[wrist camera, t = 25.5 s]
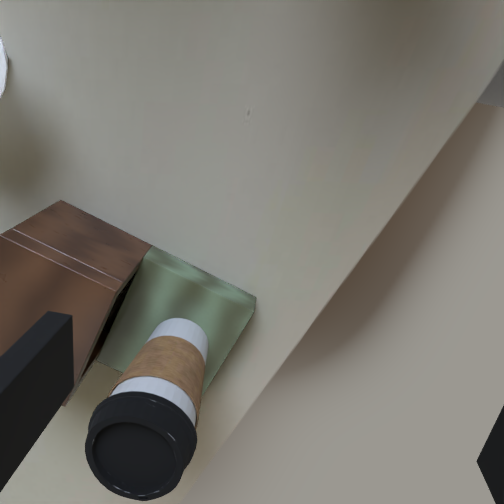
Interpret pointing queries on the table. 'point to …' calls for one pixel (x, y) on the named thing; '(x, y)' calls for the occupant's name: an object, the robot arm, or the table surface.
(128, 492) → the coffee cup
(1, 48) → the white toy dagger
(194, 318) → the step shelf
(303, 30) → the table surface
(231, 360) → the table surface
